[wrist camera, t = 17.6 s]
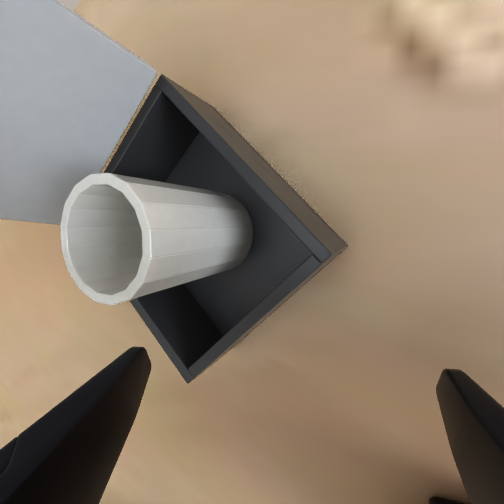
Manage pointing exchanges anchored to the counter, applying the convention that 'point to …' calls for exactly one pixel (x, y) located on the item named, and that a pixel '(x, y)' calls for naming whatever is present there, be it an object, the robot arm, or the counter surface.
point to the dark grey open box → (260, 211)
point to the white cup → (148, 236)
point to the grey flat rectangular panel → (59, 104)
